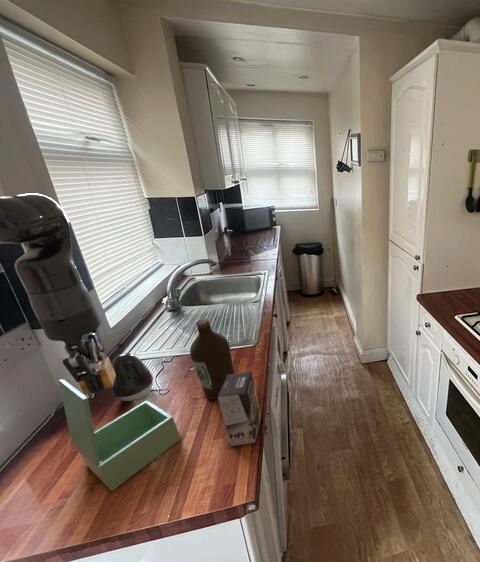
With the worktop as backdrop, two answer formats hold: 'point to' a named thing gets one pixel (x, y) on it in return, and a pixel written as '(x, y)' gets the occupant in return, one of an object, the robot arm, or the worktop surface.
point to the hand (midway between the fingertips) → (100, 383)
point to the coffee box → (240, 408)
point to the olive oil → (211, 359)
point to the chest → (132, 443)
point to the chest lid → (79, 421)
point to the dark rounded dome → (130, 377)
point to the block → (102, 375)
